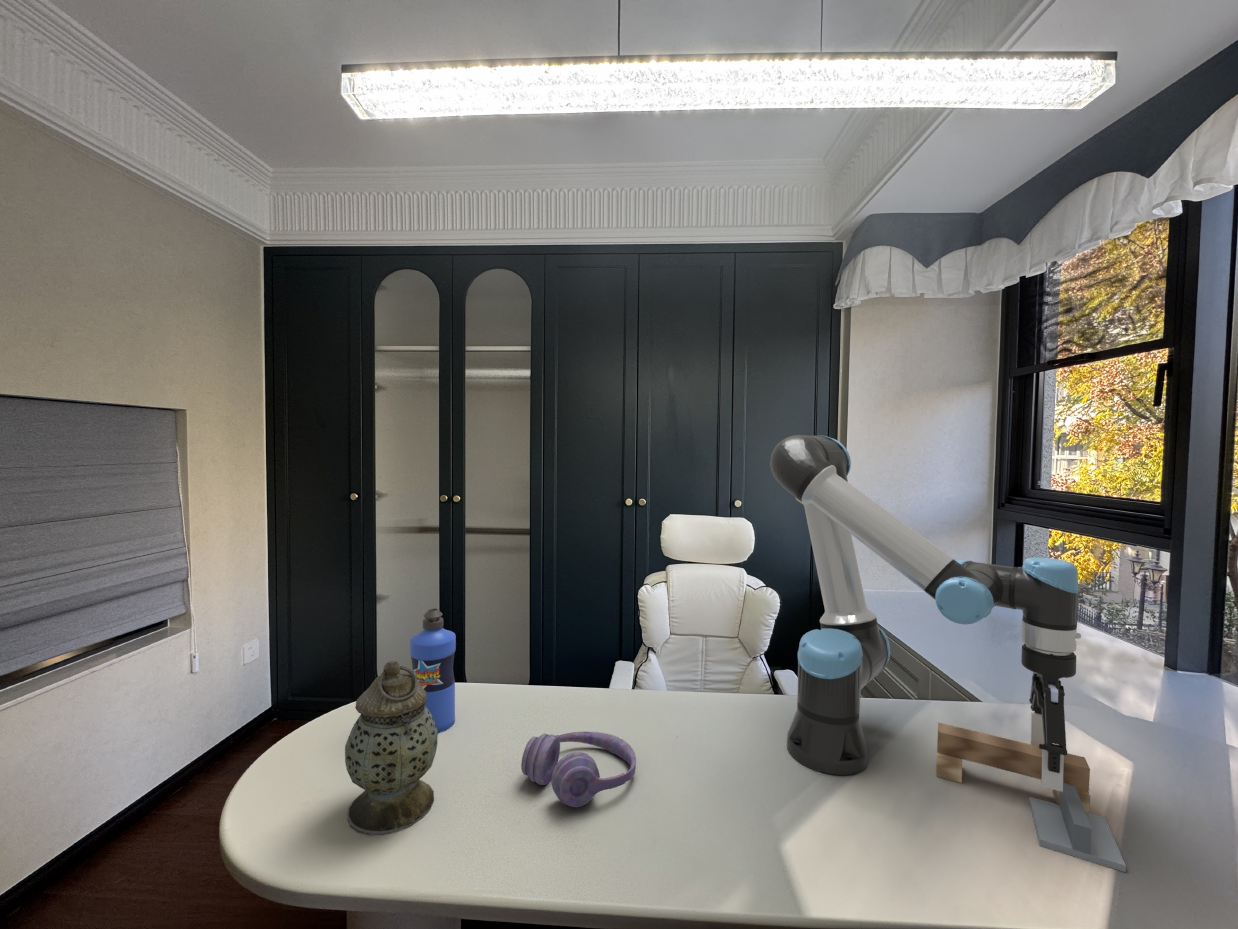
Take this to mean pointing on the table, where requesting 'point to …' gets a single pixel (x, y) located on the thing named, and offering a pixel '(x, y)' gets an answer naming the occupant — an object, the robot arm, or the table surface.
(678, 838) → the table surface
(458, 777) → the table surface
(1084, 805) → the block
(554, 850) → the table surface
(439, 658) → the water bottle
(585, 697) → the table surface
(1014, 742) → the walnut bar
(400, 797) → the lantern
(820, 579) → the robot arm
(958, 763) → the block
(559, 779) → the headphones
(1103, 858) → the fulcrum
